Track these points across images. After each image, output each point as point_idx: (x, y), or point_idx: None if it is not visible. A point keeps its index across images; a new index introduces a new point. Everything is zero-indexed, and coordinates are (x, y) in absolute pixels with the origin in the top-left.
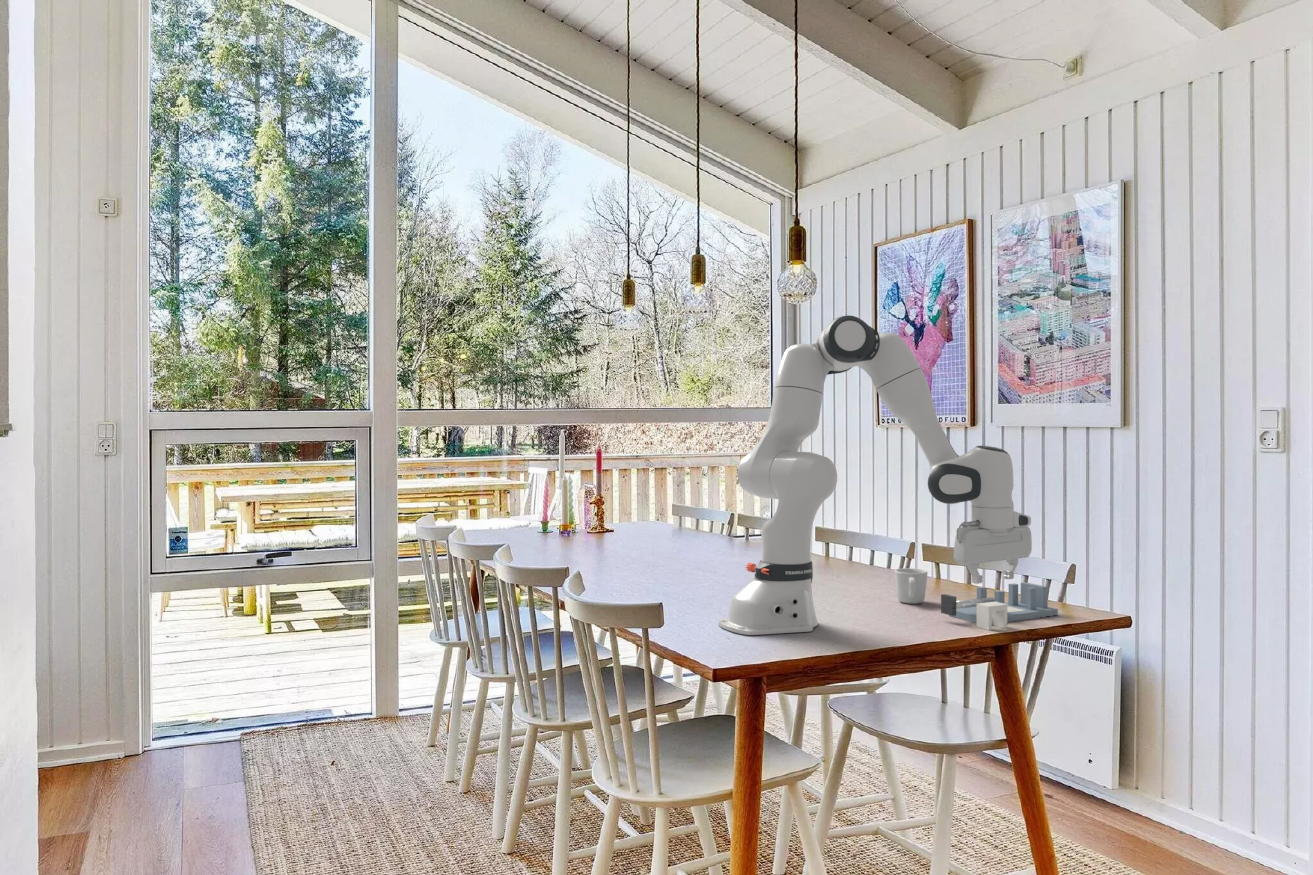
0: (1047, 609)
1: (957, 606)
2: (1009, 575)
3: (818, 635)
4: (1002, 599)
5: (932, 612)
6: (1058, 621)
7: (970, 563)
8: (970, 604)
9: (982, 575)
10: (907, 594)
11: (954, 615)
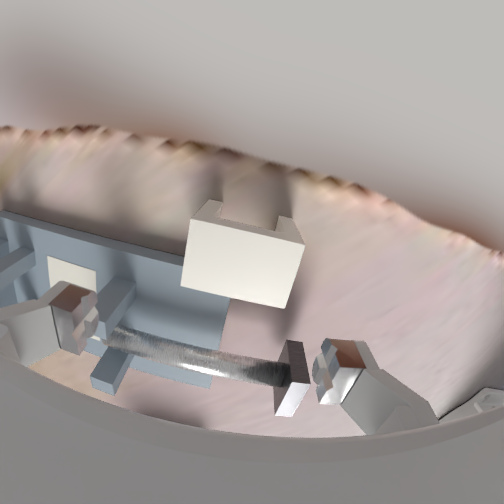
0: (7, 226)
1: (267, 362)
2: (81, 299)
3: (496, 370)
4: (101, 301)
5: (212, 406)
6: (34, 165)
7: (494, 410)
8: (210, 352)
9: (339, 367)
10: None
11: (293, 341)
